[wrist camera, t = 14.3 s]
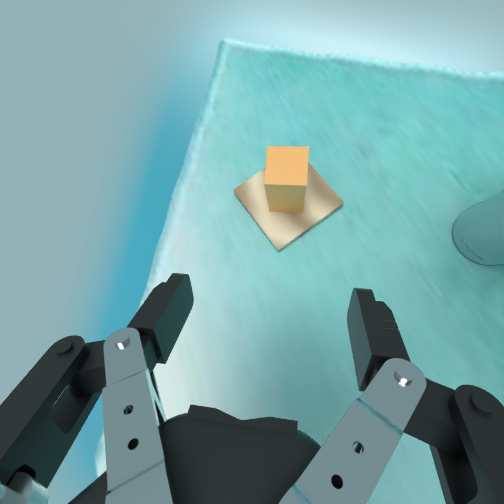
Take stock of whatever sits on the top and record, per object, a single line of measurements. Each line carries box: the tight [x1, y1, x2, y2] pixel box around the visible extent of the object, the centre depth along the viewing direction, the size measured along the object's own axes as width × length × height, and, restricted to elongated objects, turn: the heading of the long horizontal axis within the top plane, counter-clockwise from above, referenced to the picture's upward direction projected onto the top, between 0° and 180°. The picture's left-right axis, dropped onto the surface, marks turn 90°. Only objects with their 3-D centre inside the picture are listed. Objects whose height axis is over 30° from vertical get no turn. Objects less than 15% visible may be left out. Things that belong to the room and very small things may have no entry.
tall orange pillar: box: [264, 146, 309, 213], centre depth 39 cm, size 5×5×10 cm
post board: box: [233, 162, 344, 252], centre depth 42 cm, size 13×13×8 cm
